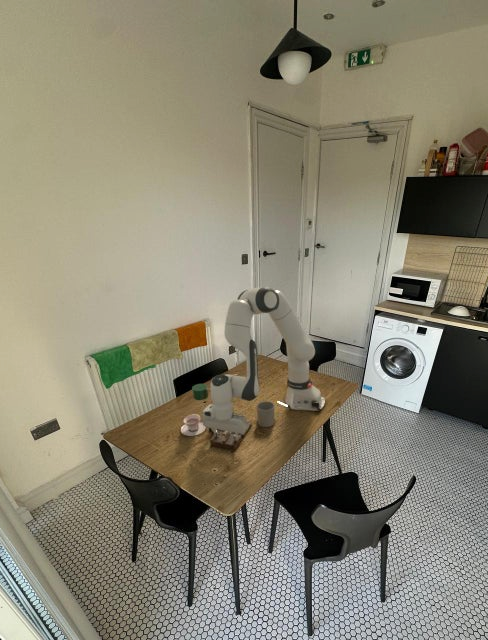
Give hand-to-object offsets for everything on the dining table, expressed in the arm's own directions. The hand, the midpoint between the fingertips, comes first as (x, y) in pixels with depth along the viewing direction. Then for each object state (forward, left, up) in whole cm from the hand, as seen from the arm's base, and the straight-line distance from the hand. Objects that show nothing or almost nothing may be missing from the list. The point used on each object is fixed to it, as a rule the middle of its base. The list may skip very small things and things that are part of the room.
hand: (226, 436), depth 146 cm
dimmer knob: (0, 0, -1) cm, 1 cm away
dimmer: (0, 0, -4) cm, 4 cm away
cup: (-12, -21, -4) cm, 24 cm away
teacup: (+20, -5, -4) cm, 21 cm away
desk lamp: (+14, -11, 0) cm, 17 cm away
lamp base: (+3, -11, -4) cm, 12 cm away
